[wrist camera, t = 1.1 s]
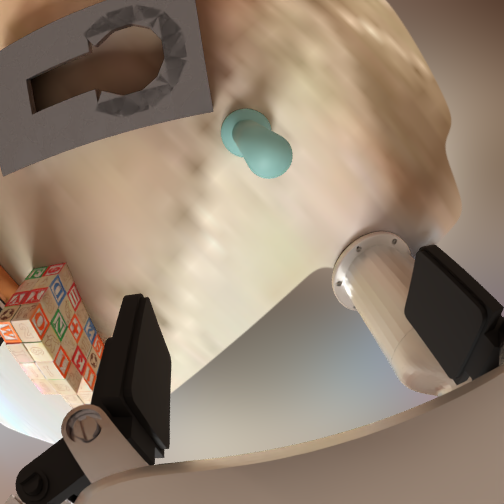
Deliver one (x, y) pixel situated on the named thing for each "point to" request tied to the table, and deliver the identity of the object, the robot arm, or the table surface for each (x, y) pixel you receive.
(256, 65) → the table surface
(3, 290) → the whiskey bottle
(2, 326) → the stack of blocks
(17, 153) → the keyhole plate
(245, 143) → the flanged peg
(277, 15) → the table surface
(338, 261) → the robot arm
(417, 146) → the table surface
